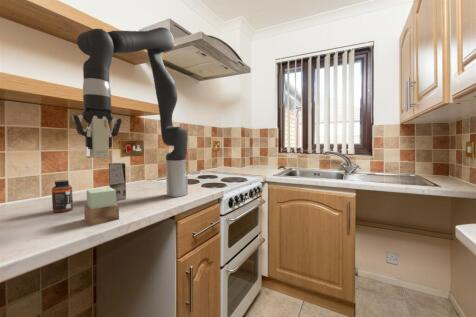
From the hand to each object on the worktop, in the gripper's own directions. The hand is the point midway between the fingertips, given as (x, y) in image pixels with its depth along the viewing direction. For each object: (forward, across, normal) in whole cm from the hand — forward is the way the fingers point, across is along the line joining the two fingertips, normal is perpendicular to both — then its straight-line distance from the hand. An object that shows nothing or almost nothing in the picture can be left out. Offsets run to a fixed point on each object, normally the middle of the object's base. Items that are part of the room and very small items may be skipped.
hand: (99, 148), depth 72 cm
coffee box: (+23, -14, -27) cm, 38 cm away
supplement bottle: (+24, +7, -21) cm, 32 cm away
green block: (+19, 0, 0) cm, 19 cm away
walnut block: (+24, 0, 0) cm, 24 cm away
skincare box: (+3, 0, 0) cm, 3 cm away
